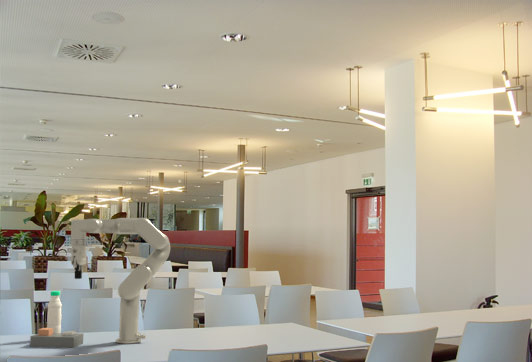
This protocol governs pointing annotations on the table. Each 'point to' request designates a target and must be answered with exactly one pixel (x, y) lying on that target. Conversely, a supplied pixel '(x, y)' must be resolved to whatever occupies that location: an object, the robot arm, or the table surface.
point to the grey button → (69, 333)
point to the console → (56, 340)
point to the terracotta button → (45, 331)
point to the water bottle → (54, 312)
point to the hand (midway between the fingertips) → (78, 278)
